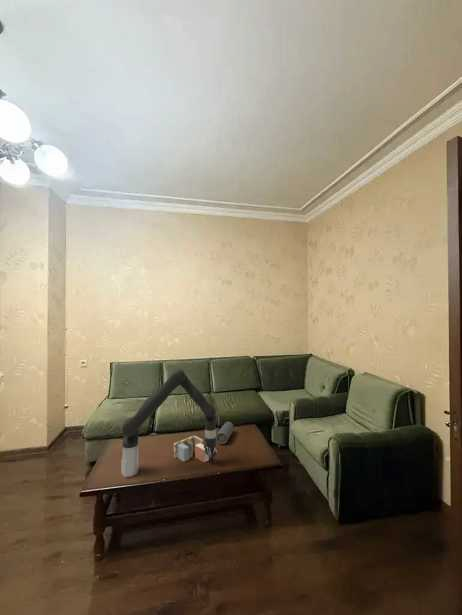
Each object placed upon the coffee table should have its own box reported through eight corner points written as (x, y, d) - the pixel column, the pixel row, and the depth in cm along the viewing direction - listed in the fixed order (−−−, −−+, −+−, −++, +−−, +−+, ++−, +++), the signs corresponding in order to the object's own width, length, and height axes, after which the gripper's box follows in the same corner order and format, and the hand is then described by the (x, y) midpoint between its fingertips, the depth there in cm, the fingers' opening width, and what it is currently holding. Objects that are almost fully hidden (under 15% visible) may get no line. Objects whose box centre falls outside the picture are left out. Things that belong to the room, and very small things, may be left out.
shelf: (182, 463, 180) (182, 448, 180) (173, 458, 187) (173, 443, 187) (203, 454, 192) (203, 439, 192) (194, 449, 199) (194, 435, 200)
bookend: (188, 458, 186) (188, 445, 186) (182, 455, 191) (182, 442, 191) (192, 456, 189) (192, 443, 189) (187, 453, 193) (187, 440, 194)
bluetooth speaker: (227, 446, 203) (227, 432, 204) (215, 445, 206) (215, 431, 206) (234, 433, 225) (234, 421, 226) (223, 432, 228) (223, 420, 228)
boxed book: (195, 457, 188) (195, 445, 188) (200, 454, 191) (200, 443, 192) (203, 462, 181) (203, 450, 181) (209, 460, 184) (209, 448, 184)
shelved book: (183, 461, 182) (183, 449, 182) (177, 457, 188) (177, 445, 188) (188, 459, 185) (188, 447, 185) (182, 455, 190) (182, 443, 191)
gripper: (200, 434, 182) (200, 460, 181) (212, 440, 172) (213, 468, 172) (208, 431, 187) (209, 456, 186) (221, 436, 177) (222, 463, 177)
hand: (211, 462), depth 179 cm, fingers closed
